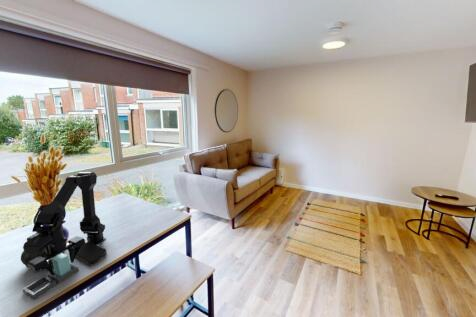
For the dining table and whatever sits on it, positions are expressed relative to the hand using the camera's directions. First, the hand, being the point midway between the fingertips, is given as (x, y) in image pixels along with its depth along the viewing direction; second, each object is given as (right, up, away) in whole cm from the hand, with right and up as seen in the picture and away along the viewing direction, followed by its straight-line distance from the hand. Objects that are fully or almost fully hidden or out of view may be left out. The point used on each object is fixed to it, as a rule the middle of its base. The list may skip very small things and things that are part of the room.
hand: (62, 268), depth 91 cm
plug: (0, -3, +1) cm, 3 cm away
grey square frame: (0, -3, +1) cm, 3 cm away
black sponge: (+4, -1, +12) cm, 13 cm away
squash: (-13, -1, +7) cm, 15 cm away
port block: (-3, -5, -7) cm, 9 cm away
